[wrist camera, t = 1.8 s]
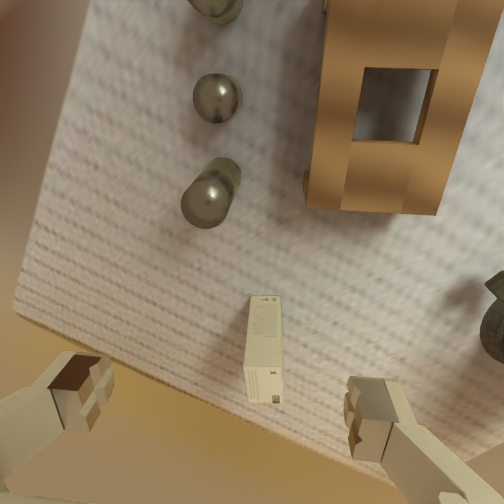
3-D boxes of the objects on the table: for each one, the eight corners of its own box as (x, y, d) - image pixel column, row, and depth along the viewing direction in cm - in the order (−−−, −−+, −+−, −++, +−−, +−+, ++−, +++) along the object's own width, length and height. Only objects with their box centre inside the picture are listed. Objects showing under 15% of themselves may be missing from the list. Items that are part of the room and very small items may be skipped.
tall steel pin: (205, 156, 35) (179, 183, 27) (241, 158, 35) (227, 185, 26) (206, 192, 37) (182, 227, 29) (240, 193, 37) (227, 230, 28)
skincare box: (249, 295, 44) (238, 365, 33) (282, 294, 43) (282, 365, 33) (253, 330, 47) (244, 404, 36) (284, 329, 46) (284, 405, 36)
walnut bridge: (325, -17, 27) (335, -39, 22) (471, -15, 27) (517, -37, 21) (303, 188, 36) (306, 208, 31) (413, 195, 35) (435, 215, 30)
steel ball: (201, 73, 32) (191, 72, 28) (242, 74, 31) (237, 74, 28) (203, 117, 33) (194, 122, 30) (241, 118, 33) (236, 124, 30)
